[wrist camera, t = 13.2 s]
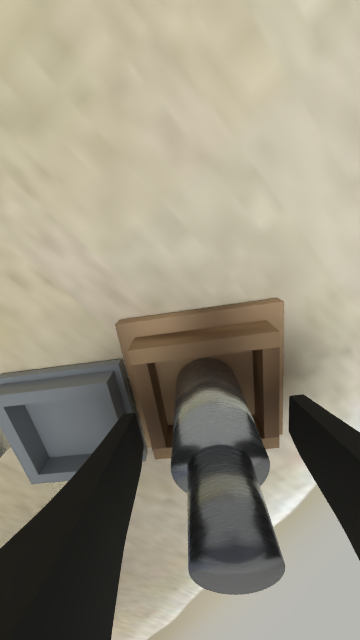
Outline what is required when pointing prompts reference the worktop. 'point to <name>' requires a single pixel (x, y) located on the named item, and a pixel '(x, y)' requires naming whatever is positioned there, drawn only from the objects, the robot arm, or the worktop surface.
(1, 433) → the grey stepped block
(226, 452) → the stepped metal cylinder
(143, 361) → the brown square tray
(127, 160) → the worktop surface
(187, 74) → the worktop surface
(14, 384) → the grey square tray
